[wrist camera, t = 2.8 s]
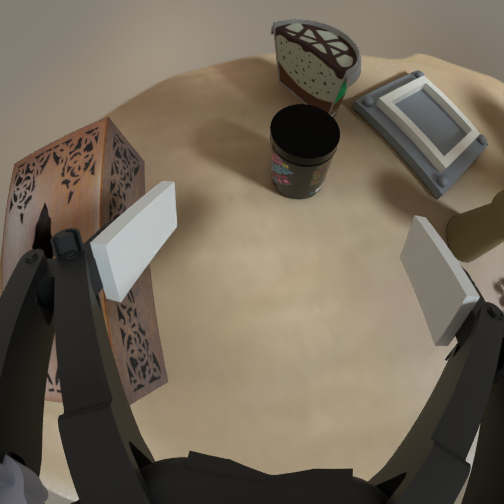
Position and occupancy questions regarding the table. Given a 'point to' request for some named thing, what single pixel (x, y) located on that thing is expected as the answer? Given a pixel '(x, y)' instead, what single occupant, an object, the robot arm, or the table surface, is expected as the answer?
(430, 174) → the base plate
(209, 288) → the table surface
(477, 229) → the cork
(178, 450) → the table surface
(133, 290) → the tissue box cover
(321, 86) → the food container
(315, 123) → the supplement container
